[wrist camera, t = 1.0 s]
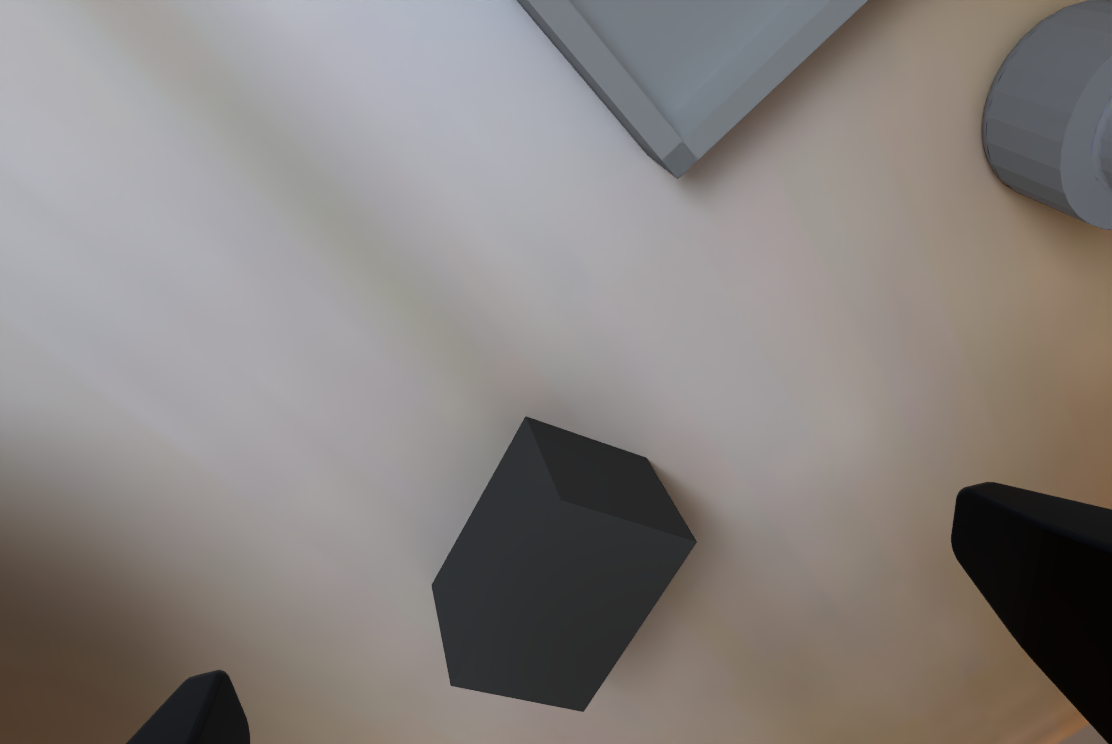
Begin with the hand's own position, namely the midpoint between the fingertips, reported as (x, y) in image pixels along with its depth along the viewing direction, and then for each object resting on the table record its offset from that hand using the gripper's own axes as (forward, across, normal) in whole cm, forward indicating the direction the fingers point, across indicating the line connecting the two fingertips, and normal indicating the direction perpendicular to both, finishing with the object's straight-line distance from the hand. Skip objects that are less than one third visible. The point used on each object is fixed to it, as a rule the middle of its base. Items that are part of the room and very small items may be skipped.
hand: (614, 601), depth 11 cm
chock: (+13, +1, -9) cm, 16 cm away
